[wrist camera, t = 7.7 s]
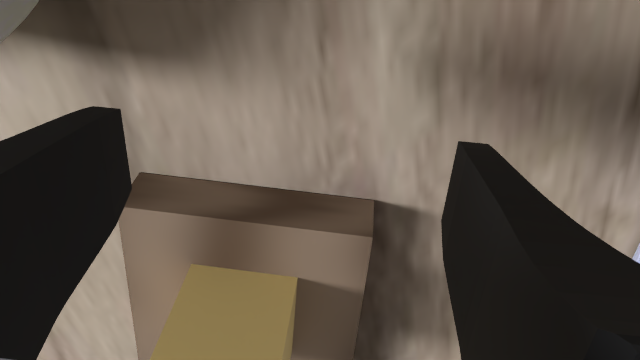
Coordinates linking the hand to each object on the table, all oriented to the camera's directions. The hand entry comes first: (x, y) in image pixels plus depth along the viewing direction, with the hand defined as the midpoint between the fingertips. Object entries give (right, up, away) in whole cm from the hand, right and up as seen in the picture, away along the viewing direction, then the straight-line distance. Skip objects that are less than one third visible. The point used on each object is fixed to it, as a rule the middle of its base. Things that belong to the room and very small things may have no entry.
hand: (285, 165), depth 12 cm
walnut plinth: (-2, -5, +15) cm, 15 cm away
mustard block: (-3, -6, +12) cm, 14 cm away
